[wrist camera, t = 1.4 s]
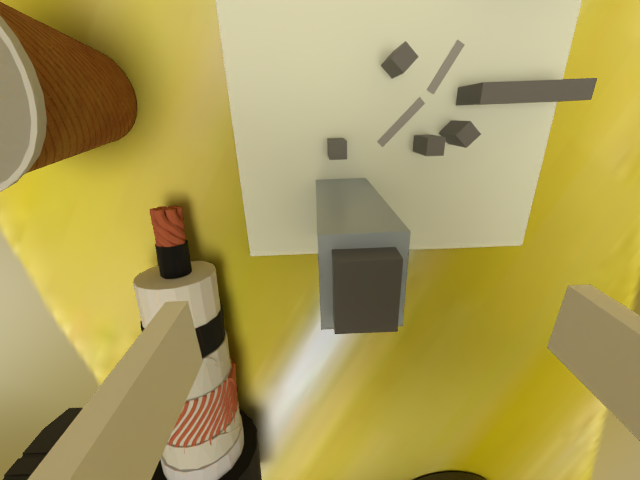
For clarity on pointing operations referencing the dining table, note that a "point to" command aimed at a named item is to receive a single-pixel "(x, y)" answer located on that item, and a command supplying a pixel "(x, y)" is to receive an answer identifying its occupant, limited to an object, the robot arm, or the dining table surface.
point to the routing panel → (395, 111)
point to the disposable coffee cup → (55, 97)
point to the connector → (360, 258)
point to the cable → (216, 370)
